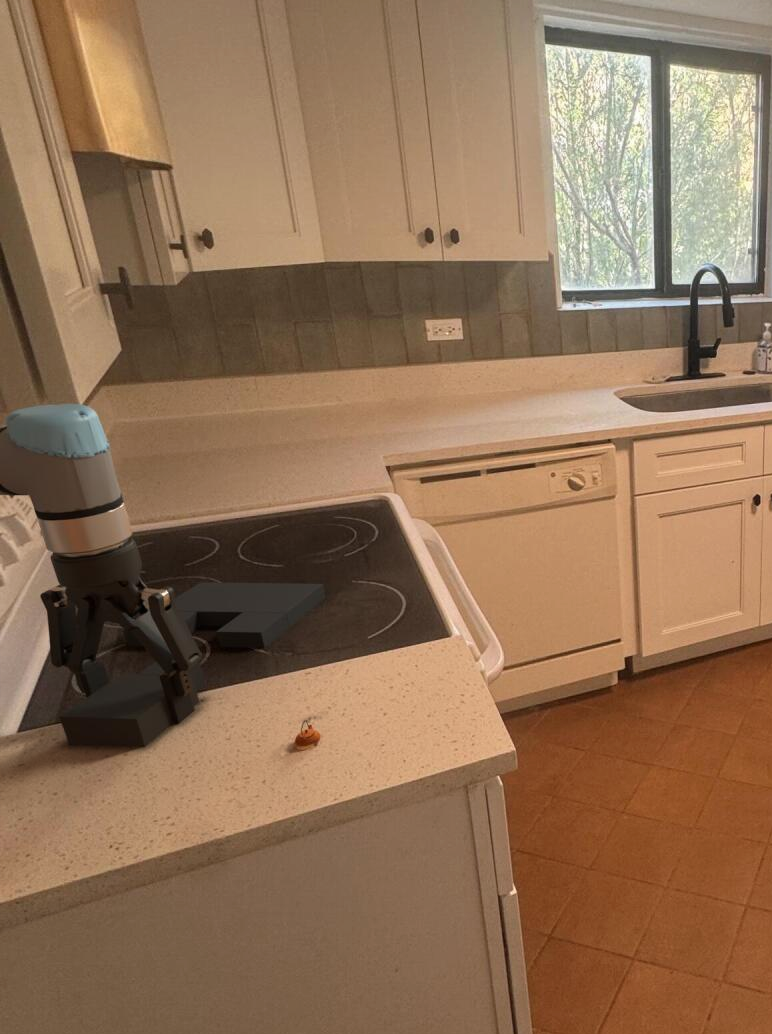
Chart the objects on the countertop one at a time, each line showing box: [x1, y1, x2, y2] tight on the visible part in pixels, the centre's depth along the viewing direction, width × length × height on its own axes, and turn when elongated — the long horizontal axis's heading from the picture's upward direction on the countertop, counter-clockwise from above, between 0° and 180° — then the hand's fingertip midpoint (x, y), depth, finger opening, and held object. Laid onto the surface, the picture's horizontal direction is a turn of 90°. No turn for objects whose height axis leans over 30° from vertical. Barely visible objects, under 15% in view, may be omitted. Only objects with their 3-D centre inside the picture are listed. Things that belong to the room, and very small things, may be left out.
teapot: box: [294, 719, 321, 751], centre depth 92 cm, size 3×3×3 cm
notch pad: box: [122, 581, 327, 649], centre depth 118 cm, size 20×16×4 cm
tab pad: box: [58, 659, 206, 748], centre depth 95 cm, size 9×13×4 cm
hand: (145, 715), depth 95 cm, fingers closed on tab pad, 9 cm apart
